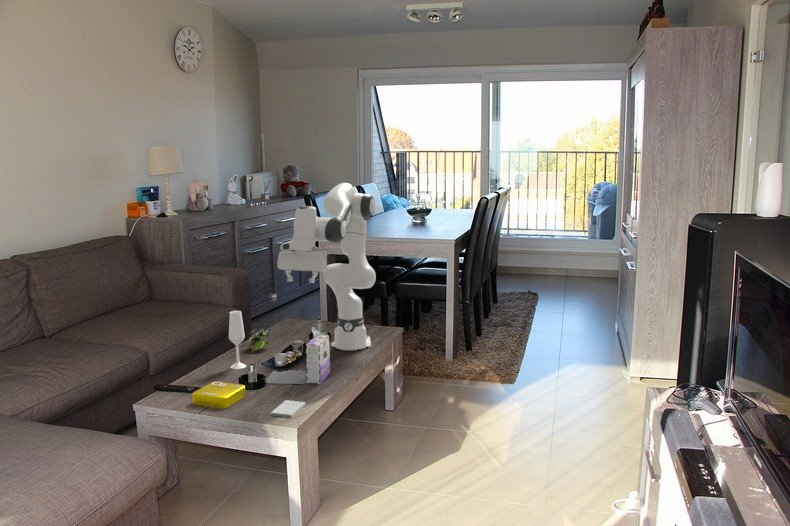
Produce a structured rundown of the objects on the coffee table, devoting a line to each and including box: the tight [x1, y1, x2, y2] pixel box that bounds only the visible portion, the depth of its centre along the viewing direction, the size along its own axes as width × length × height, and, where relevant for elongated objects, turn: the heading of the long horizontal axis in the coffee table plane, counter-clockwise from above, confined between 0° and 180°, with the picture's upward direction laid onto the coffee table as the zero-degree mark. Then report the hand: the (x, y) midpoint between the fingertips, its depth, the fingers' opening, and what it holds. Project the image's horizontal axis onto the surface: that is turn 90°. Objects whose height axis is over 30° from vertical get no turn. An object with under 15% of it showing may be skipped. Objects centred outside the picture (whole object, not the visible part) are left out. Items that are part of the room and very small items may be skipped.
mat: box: [265, 369, 307, 386], centre depth 284 cm, size 16×17×1 cm
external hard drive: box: [269, 399, 307, 418], centre depth 250 cm, size 2×8×12 cm
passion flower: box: [247, 328, 271, 353], centre depth 323 cm, size 11×11×12 cm
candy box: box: [305, 334, 331, 385], centre depth 281 cm, size 14×6×16 cm, turn 168°
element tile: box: [191, 381, 247, 409], centre depth 260 cm, size 15×15×5 cm
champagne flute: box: [228, 310, 247, 370], centre depth 296 cm, size 7×7×24 cm
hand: (300, 282), depth 270 cm, fingers open, 8 cm apart
